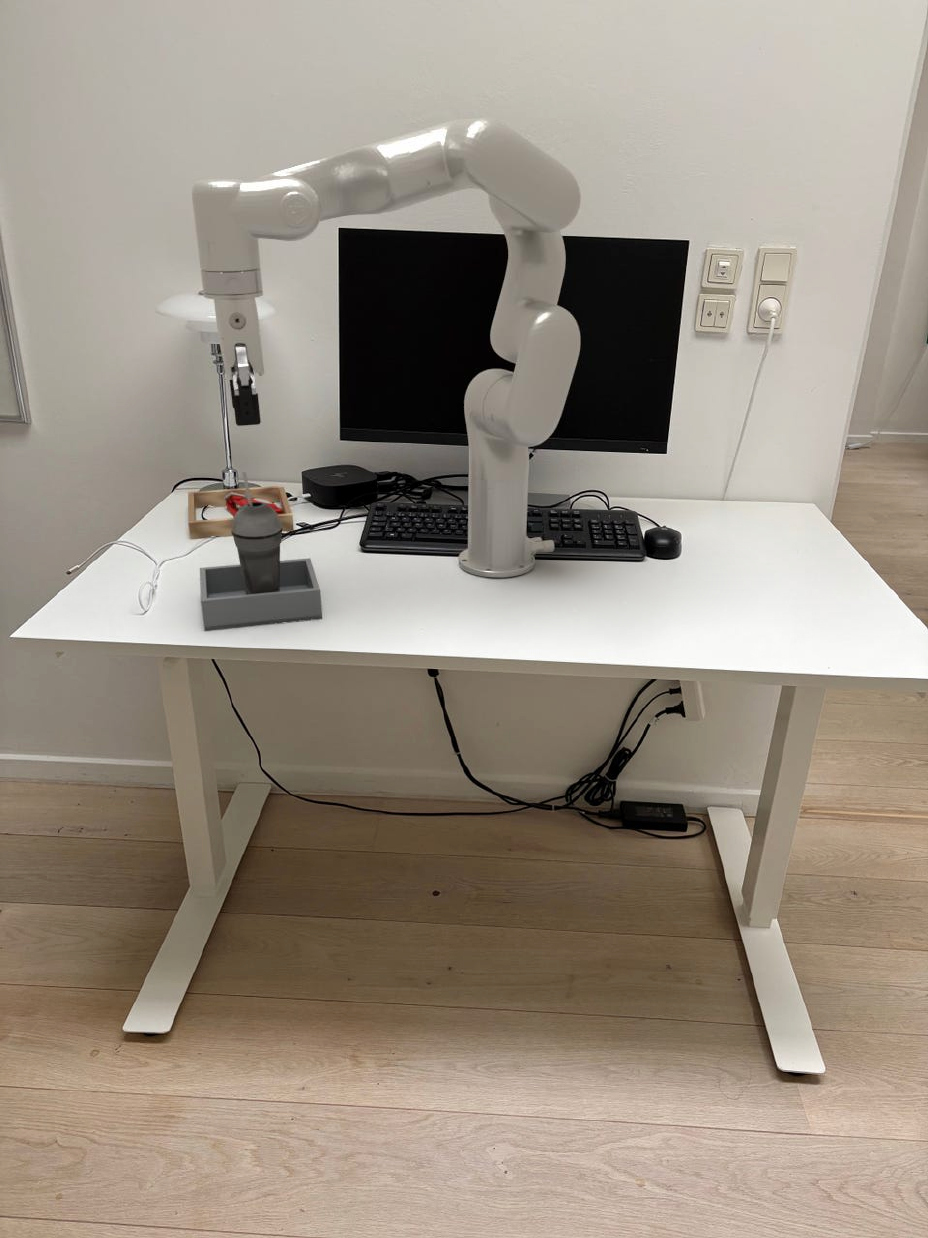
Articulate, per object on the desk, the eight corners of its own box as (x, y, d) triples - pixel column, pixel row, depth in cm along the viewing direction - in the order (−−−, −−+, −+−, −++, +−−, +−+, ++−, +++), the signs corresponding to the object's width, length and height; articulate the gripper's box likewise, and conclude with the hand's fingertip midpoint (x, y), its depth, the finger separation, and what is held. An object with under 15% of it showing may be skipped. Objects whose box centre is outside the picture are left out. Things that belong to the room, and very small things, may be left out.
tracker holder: (289, 503, 184) (277, 507, 175) (284, 525, 185) (272, 531, 175) (227, 487, 184) (212, 490, 174) (223, 509, 185) (207, 514, 175)
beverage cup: (277, 615, 139) (266, 482, 131) (230, 610, 140) (216, 478, 132) (295, 595, 146) (286, 467, 137) (250, 591, 147) (238, 464, 138)
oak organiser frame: (284, 500, 189) (283, 485, 187) (293, 530, 173) (292, 515, 172) (189, 507, 184) (188, 492, 183) (190, 539, 169) (188, 522, 167)
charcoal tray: (311, 585, 151) (310, 558, 149) (322, 618, 140) (320, 589, 138) (203, 595, 147) (199, 567, 145) (204, 630, 136) (200, 601, 134)
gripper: (267, 290, 117) (279, 429, 124) (257, 275, 132) (269, 400, 139) (203, 293, 115) (220, 433, 123) (201, 277, 130) (216, 403, 138)
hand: (246, 415), depth 131 cm, fingers open, 9 cm apart
